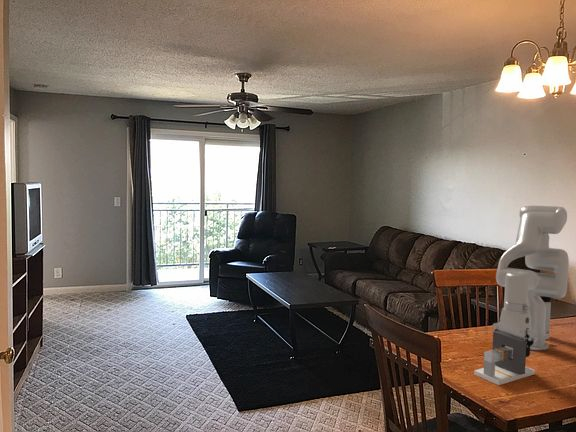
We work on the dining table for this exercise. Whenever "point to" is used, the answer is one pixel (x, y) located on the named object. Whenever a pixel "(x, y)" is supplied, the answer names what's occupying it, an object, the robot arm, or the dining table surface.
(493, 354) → the grey square bar
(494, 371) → the stand
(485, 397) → the dining table surface
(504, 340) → the collar
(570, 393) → the dining table surface
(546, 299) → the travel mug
